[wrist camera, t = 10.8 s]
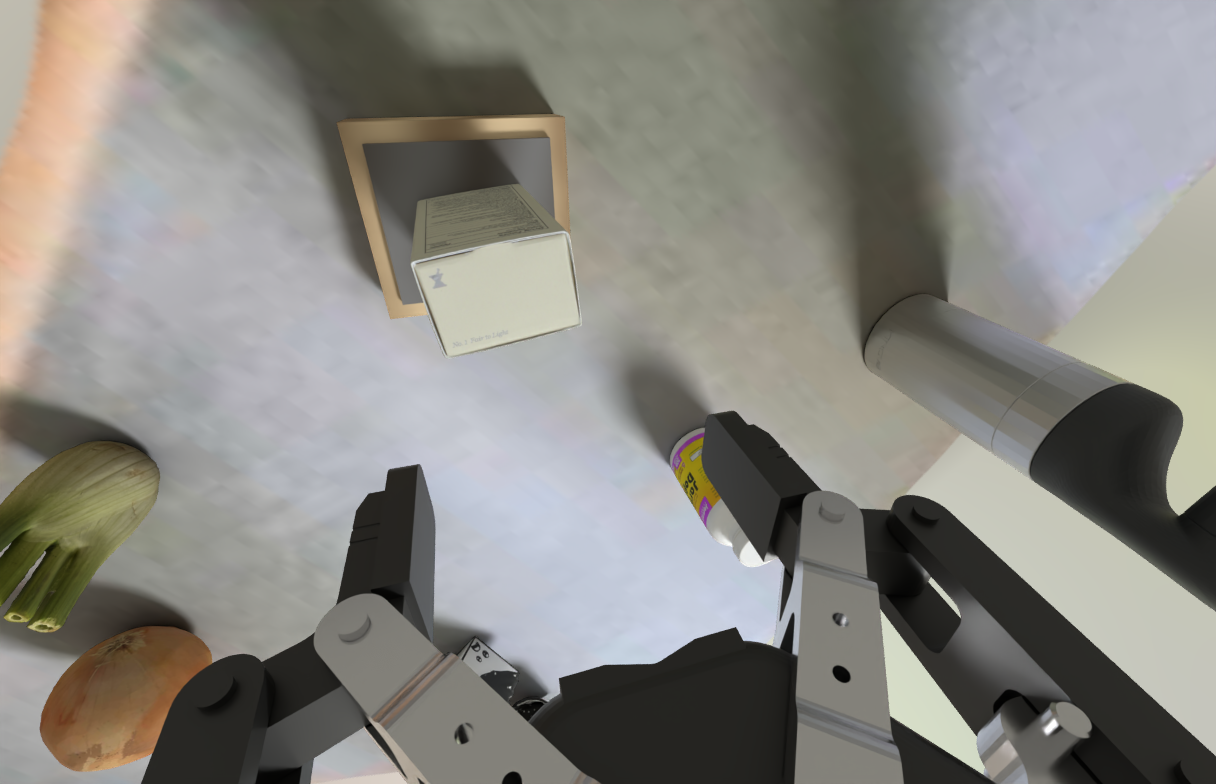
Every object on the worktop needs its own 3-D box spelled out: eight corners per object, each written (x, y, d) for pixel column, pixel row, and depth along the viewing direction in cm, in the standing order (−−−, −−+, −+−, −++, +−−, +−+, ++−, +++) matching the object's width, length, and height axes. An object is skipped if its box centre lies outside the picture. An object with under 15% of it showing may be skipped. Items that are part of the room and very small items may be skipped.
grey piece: (578, 686, 69) (597, 766, 61) (519, 720, 69) (529, 804, 61) (477, 613, 54) (484, 707, 46) (400, 657, 54) (394, 758, 46)
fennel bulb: (58, 431, 32) (-109, 587, 22) (150, 424, 33) (30, 567, 23) (100, 496, 35) (-31, 658, 25) (182, 487, 36) (89, 636, 26)
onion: (131, 682, 44) (63, 815, 36) (58, 621, 39) (-40, 762, 31) (248, 649, 46) (209, 769, 38) (195, 587, 41) (136, 711, 33)
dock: (554, 113, 30) (566, 117, 27) (564, 283, 36) (574, 299, 33) (345, 118, 27) (335, 123, 24) (393, 301, 33) (389, 321, 30)
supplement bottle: (661, 440, 48) (724, 540, 37) (722, 414, 48) (800, 506, 38) (673, 484, 51) (733, 585, 41) (729, 460, 52) (802, 554, 42)
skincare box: (438, 271, 30) (439, 365, 20) (414, 196, 27) (401, 261, 17) (538, 251, 31) (585, 331, 21) (524, 177, 28) (569, 229, 19)
